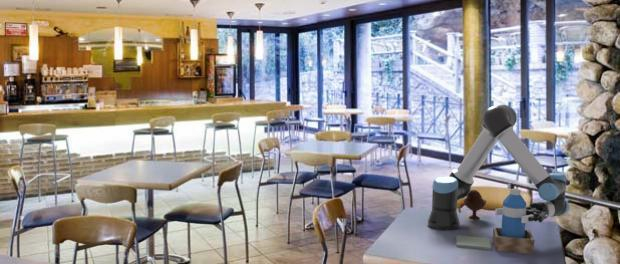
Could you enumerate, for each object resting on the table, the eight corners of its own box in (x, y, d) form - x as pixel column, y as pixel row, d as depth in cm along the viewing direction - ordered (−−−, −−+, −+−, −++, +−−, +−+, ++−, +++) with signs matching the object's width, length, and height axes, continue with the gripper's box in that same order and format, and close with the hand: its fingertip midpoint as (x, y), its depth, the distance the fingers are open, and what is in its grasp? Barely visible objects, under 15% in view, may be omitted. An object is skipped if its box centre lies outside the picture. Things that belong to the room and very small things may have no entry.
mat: (456, 246, 230) (456, 244, 230) (456, 237, 244) (456, 235, 244) (491, 249, 227) (491, 247, 227) (489, 240, 240) (489, 238, 240)
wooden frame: (495, 250, 226) (495, 236, 225) (492, 240, 240) (493, 227, 240) (533, 254, 222) (534, 239, 221) (528, 243, 236) (529, 230, 236)
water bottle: (513, 251, 225) (516, 192, 222) (495, 245, 233) (498, 188, 230) (528, 248, 229) (532, 190, 226) (511, 242, 237) (514, 186, 235)
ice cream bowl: (486, 221, 271) (488, 192, 269) (463, 220, 273) (465, 191, 271) (484, 216, 281) (485, 188, 279) (462, 215, 283) (463, 186, 282)
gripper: (566, 225, 228) (533, 232, 218) (517, 212, 250) (485, 217, 239) (567, 208, 228) (534, 214, 217) (518, 196, 249) (486, 201, 238)
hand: (508, 215), depth 228 cm, fingers open, 13 cm apart
